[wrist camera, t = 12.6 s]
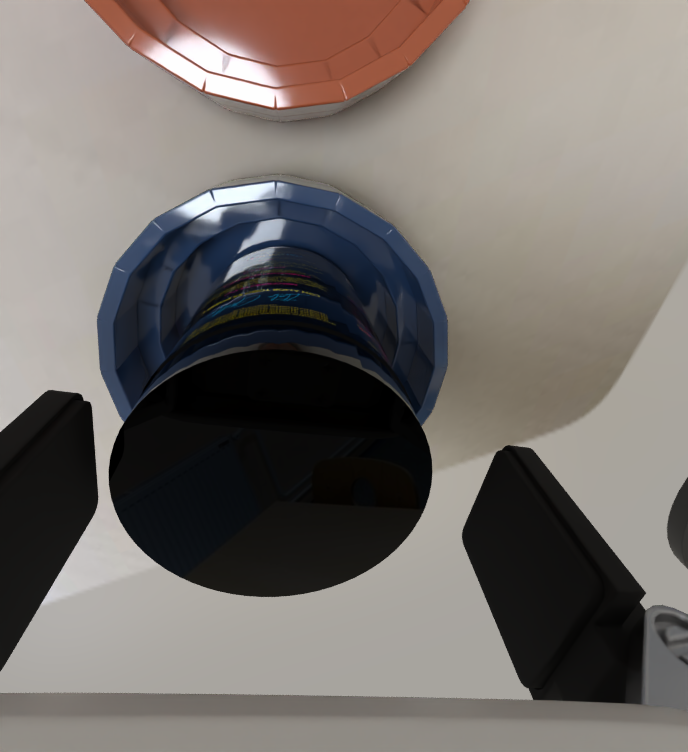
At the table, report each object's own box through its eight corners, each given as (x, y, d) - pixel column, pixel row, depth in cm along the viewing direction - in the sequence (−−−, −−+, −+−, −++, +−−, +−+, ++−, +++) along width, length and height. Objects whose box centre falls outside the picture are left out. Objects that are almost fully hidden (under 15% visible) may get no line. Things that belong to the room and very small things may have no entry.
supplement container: (168, 295, 17) (26, 457, 8) (313, 208, 16) (341, 278, 7) (262, 414, 20) (237, 632, 11) (388, 347, 19) (477, 522, 10)
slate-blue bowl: (444, 207, 17) (496, 225, 13) (379, 437, 22) (400, 508, 18) (145, 144, 15) (84, 140, 11) (147, 413, 20) (106, 486, 16)
